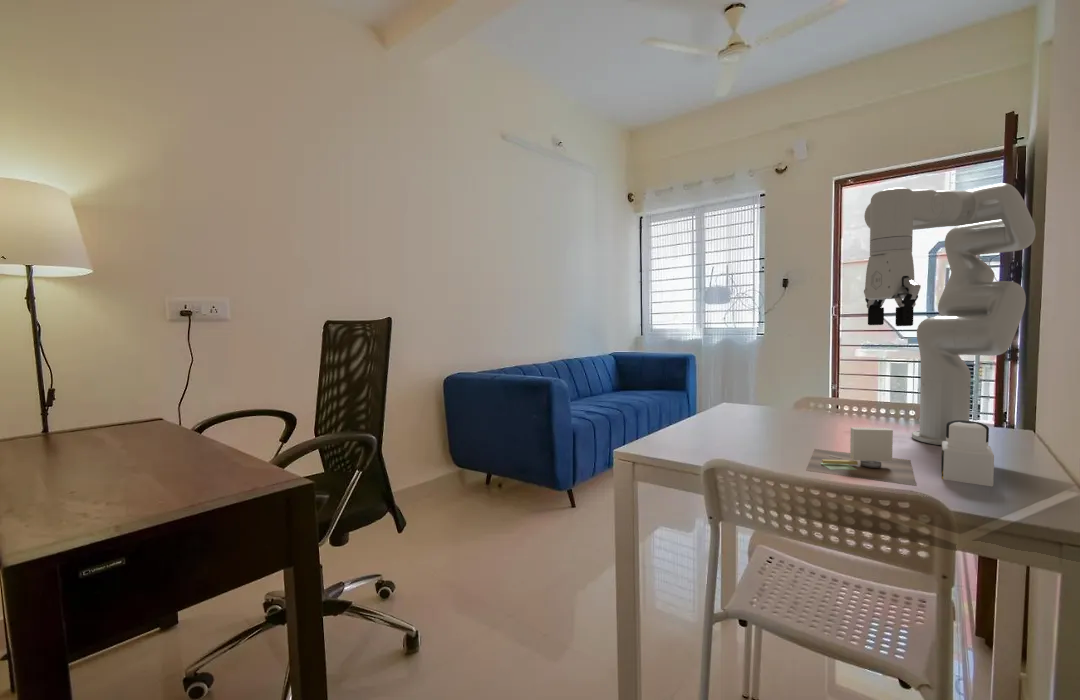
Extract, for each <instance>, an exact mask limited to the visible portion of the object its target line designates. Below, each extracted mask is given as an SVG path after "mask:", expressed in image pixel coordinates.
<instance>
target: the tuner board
mask: <svg viewBox="0 0 1080 700" xmlns="http://www.w3.org/2000/svg"><path fill="white" fill-rule="evenodd" d="M822 459H826V460H853V459H852V458H850V452H845V451H837V450H826V449H818V448H814V450H813V452H812V454H811V456H810V460H809V461H808V464H807V467H806V469H805V471H807V472H814V473H821V474H828V475H837V476H840V477H841V476H842V477H850V478H857V479H864V480H871V481H878V482H885V483H886V482H887V483H892V484H898V485H899V484H900V485H908V486H913V487H917V485H918V484H917V483H916V482H917V481H916V477H915V474H914V470H913V469H914V468H913V466H912V461H911V459H908V458H907V459H905V458H897V457H892V461H879V462H881V467H880V468H871V467H866V466H863V465H861V464H860V460H853V461H857V462H858V465H852V464H827V463H823V462H822Z"/></svg>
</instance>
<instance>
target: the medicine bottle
mask: <svg viewBox="0 0 1080 700" xmlns="http://www.w3.org/2000/svg"><path fill="white" fill-rule="evenodd" d="M989 433H990V427H989V426H988V425H986V424H984V423H982V422H979V421H973V420H969V421H965V420H955V421H951V422H948V423H947V424H946V441H943V442H942V445H941V454H940V455H941V459H940V461H941V462H940V463H941V464H940V466H941V467H940V471H941V472H940V473H941V479H942V480H945V481H952V482H959V483H967V484H973V485H978V486H979V485H980V486H985V487H993V486H994V473H995V472H994V471H995V454H994V453H993V450H992V448H991V446H990V445H989V438H990V434H989Z"/></svg>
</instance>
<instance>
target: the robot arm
mask: <svg viewBox="0 0 1080 700" xmlns="http://www.w3.org/2000/svg"><path fill="white" fill-rule="evenodd" d="M864 221H865V225H866V226H867V227H868V228H869V257H868V261H867V265H866V271H865V272H866V273H865V283H864V284H865V285H864V290H863V293H864V297H865V299H864V300H865V303H866V308H867V325H868V326H883V325H884V324H885V323H884V322H885V308H884V307H882V306H883V305H884V303H885V301H886V300H894V301H895V303H896V305H897V306H896V307H895V326H896V327H911V326H913V325H914V307H915V306H916V305H917V304H916V301H917V300H918V298H919V293H920V290H921V288H922V287H921V284H920V283H918V282H917V281H915V268H914V266H915V265H914V258H913V230H920V229H922V230H923V229H931V228H932V229H933V228H945V227H954V228H951V229H950V230H949V231H948V232H947V233H946V235H945V238H944V249H945V254H946V259H947V262H948V265H949V268H950V276H949V278H948V281H947V283H946V285H945V287H944V289H943V291H942V293H941V296H940V298H939V301H938V305H937V311H938V314H939V315H936V316H930V317H927V318H925V319H923V320H921V322H920V323H919V324H918V326H917V328H916V339H917V344H918V349H919V355H920V356H919V358H920V400H919V430H915V431H913V432H912V433H911V438H913V439H914V440H916V441H919V442H922V443H925V444H930V445H937V446H942V442H943V441H946V424H947V423H948V422H951V421H955V420H965V421H970V411H971V410H970V409H971V406H970V405H971V381H972V379H971V378H972V377H971V370H970V369H969V367H968V365H967V364H966V362H965V361H964V360H963V359H962V357H960V355H961V356H964V355H965V356H966V355H967V356H970V355H971V356H993V357H994V356H1000V355H1003V354H1005V353H1006V352H1007V351H1008V350H1009V348H1010V347H1011V345H1012V343H1013V340H1014V338H1015V335H1016V334H1017V333H1016V332H1017V331H1018V327H1019V325H1020V324H1021V323H1020V322H1021V321H1022V318H1023V316H1024V311H1025V308H1026V303H1027V301H1026V299H1027V298H1026V297H1027V296H1026V292H1025V289H1024V288H1023V287H1022V285H1021V284H1020V283H1017V282H1015V281H1010V280H1007V281H1005V280H1004V281H1003V280H1001V281H994V279H995V272H994V270H993V269H992V268H991V267H990V266H989V265H988V263H986V262H985V261H983V260H981V259H980V258H978V257H977V255H978V256H979V255H981V256H982V255H990V254H998V253H1009V252H1018V251H1022V250H1025V249H1027V248H1029V247H1030V246H1031V245H1032V244H1033V242H1034V241H1035V238H1036V234H1037V233H1036V225H1035V221H1034V220H1033V218H1032V216H1031V213H1030V211H1029V209H1028V207H1027V204H1026V202H1025V200H1024V198H1023V196H1022V195H1021V193H1020V192H1019V190H1018V189H1017V188H1016V187H1015V186H1013V185H1012V184H1009V183H1005V182H1004V183H1003V182H1002V183H997V184H993V185H988V186H986V185H985V186H982V187H978V188H973V189H972V188H971V189H966V190H949V189H947V190H945V189H944V190H934V189H929V188H923V189H922V188H921V189H910V188H908V187H893V188H888V189H887V188H886V189H884V190H880V191H877V192H875V193H874V194H873V195H872V196H871V198H870V202H869V204H868V205H867V207H866V208H865V211H864Z"/></svg>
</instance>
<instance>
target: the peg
mask: <svg viewBox="0 0 1080 700" xmlns="http://www.w3.org/2000/svg"><path fill="white" fill-rule="evenodd" d="M893 431H894V430H893V429H891V428H889V427H886V428H885V427H855V426H854V427H850V441H849V442H850V448H849V449H850V451H849V453H850V458H852V459H853V460H860V464H861V465H863V466H866V467H871V468H880V467H881V462H879V461H892V458H893V439H894V438H893V437H894V436H893V435H894V432H893ZM853 460H826V459H822V462H823V463H827V464H852V465H858V462H857V461H853Z"/></svg>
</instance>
